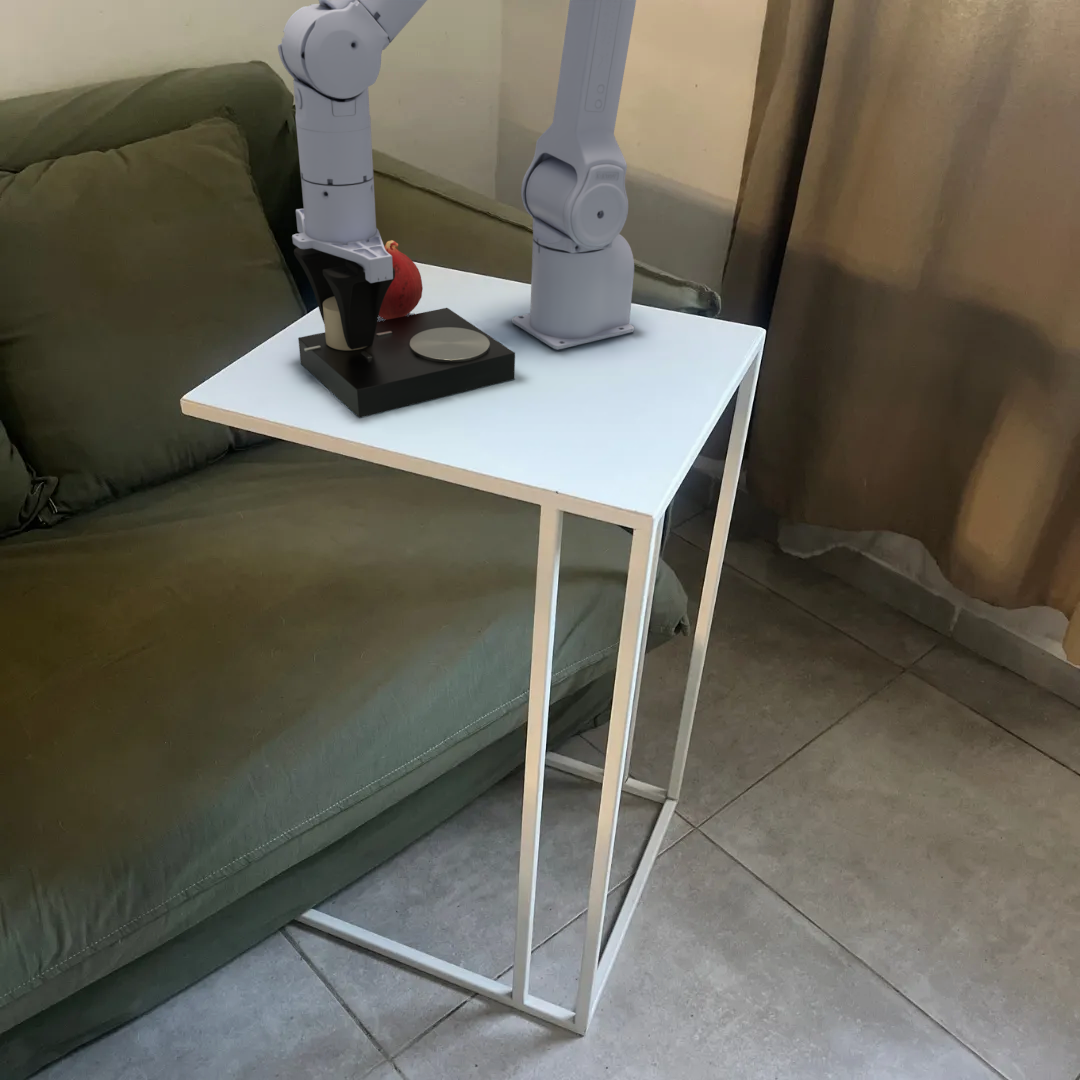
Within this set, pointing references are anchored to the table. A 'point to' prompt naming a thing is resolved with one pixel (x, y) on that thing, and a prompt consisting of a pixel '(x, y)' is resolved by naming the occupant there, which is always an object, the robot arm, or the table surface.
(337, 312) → the knob
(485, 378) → the hob
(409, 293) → the onion
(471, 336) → the burner
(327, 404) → the table surface
